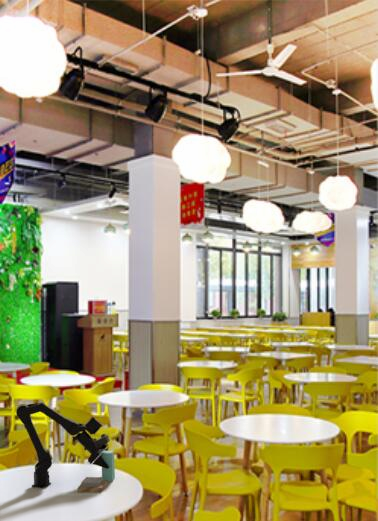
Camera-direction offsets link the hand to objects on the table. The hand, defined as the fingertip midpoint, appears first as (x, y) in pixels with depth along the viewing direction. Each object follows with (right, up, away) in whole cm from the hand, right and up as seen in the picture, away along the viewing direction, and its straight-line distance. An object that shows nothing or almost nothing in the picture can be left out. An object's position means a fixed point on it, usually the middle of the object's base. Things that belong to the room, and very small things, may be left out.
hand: (110, 465), depth 275 cm
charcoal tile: (-7, -4, -12) cm, 15 cm away
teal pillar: (-1, -7, 0) cm, 7 cm away
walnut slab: (-7, -7, -12) cm, 15 cm away
